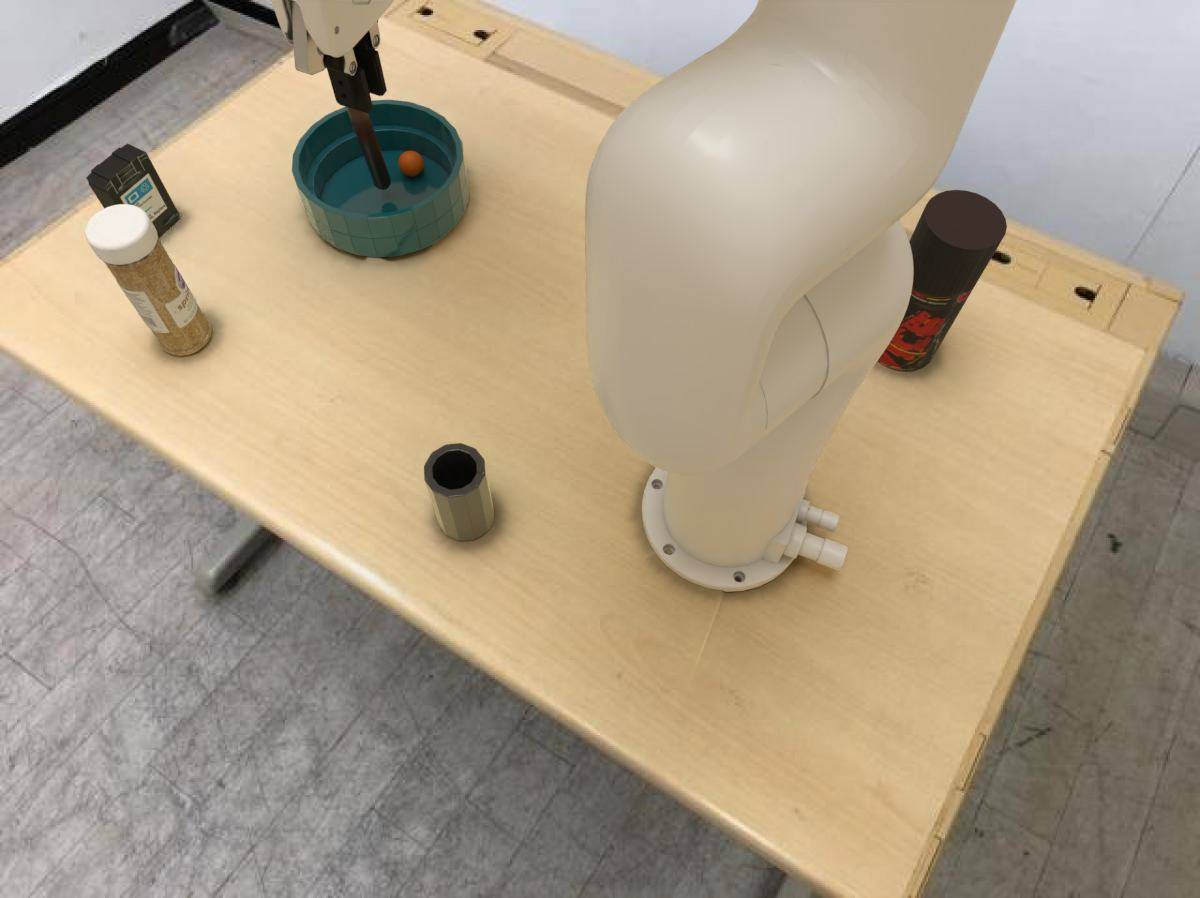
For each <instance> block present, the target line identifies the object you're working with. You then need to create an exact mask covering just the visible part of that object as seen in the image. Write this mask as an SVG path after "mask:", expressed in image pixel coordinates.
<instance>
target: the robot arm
mask: <svg viewBox="0 0 1200 898" xmlns="http://www.w3.org/2000/svg"><path fill="white" fill-rule="evenodd" d="M394 1H395V0H271V3H272V7H273V9H274V10H273V11H274V13H275V16H276V19H277V22H278V24H279V27H280V29H281V32H282V34H283V36H284V38H285V40H286V41H287V43H289V44H290V45H293V56H294V57H293V59H294V68H295V70H296V71H297V72H300V73H304V74H306V75H310V76H314V75H316V74H319V73H321V72H324V71H325V70H327V75H328V78H329V81H330V85H331V88H332V91H333V94H334V98H335V101H336V103H337V104H338V105H340V106H343V107H345V106H346V107H349V108H352V109H355V110H358V111H362V112H365V113H369V112H370V111H371V110H372V108H373V106H372V101H373V100H372V97H371V94H372V95H375V96H379V97H381V96H382V97H383V96H384V95H385V94H386V93H387V91H388V90H387V84H386V80H385V76H384V70H383V66H382V63H381V62H382V61H381V58H380V53H379V50H376V49H378V48H379V47H380V45H381V33H380V28H379V19H380V18H381V17H382V16H383V15H384V14H385V12H386V11H387V10H389V8H390V7H391V5H392V4H393V3H394ZM1016 3H1017V0H758V1H757V4H756V6H755V8H754V10H753V11H752V13H751V14H750V15H749V17H748V18H747V19H746V20H745V21H744V22H743V23H742V24H741V25H740V26H739V27H738V29H737V30H735V31H734V32H733V33H732V34H731V35H729V37H728V38H726V39H725V40H724V41H722V42H721V43H720V44H718V45H717V46H715V47H713V48H712V49H710V50H709V51H707V52H705V53H704V54H702V55H700V56H699V57H697V58H695V59H693V60H692V61H690V62H688V63H687V64H686V65H684V66H682V67H680V68H679V69H677V70H676V71H674V72H672V73H671V74H669V75H667V76H666V77H664V78H663V79H661V80H660V81H658V82H656V83H655V84H654V85H652V86H650V87H649V88H648V89H647V90H645V91H644V92H642V94H640V95H638V96H637V97H636V98H635V99H634V100H633V101H631V102H630V103H629V104H628V105H626V107H625V108H624V109H623V110H622V111H621V112H620V113H619V115H617V116H616V118H615V119H614V120H613V122H612V123H611V125H610V126H609V127H608V129H607V131H606V132H605V134H604V135H603V137H602V139H601V141H600V143H599V145H598V147H597V150H596V151H595V153H594V157H593V159H592V162H591V166H590V168H589V172H588V175H587V176H588V177H587V181H586V187H585V189H586V190H585V207H584V248H585V251H584V252H585V256H584V258H585V259H584V260H585V261H584V262H585V266H584V267H585V333H586V334H585V335H586V351H587V352H586V353H587V361H588V366H589V371H590V376H591V381H592V385H593V389H594V391H595V395H596V398H597V400H598V403H599V405H600V408H601V409H602V412H603V414H604V415H605V418H606V420H607V422H608V423H609V425H610V426H611V428H612V429H613V431H614V433H615V434H616V435H617V437H618V438H619V439H620V440H621V442H622V443H624V445H625V446H626V447H627V448H628V449H629V450H630V451H631V452H632V453H633V454H634V455H635V456H637V457H638V458H639V459H641V460H642V461H643V462H645V463H646V464H649V465H650V466H652V467H654V470H653V471H652V472H651V474H650V476H649V477H648V479H647V482H646V485H645V487H644V490H643V495H642V501H641V520H642V526H643V530H644V532H645V535H646V538H647V541H648V543H649V544H650V546H651V548H652V550H653V551H654V553H655V554H656V556H657V557H658V558H659V559H660V560H661V561H662V563H664V564H665V566H666V567H667V568H669V569H670V570H671V571H672V572H673V573H675V574H676V575H678V576H680V578H682V579H684V580H686V581H689V582H691V583H693V584H695V585H698V586H701V587H704V588H707V589H712V590H718V591H719V590H720V591H722V592H727V593H729V592H744V591H747V590H752V589H755V588H760V587H761V586H763V585H766V584H767V583H769V582H772V581H774V580H775V579H776V578H778V577H779V576H780V575H782V573H784V572H785V571H786V569H787V568H788V567H789V566H790V565H791V564H792V563H793V562H794V560H796V559H797V558H798V556H801V557H804V558H806V559H809V560H811V561H814V562H815V563H817V564H819V565H822V566H825V567H827V568H830V569H833V570H836V571H838V572H840V571H841V569H842V568H843V565H844V563H845V561H846V559H847V555H848V552H849V546H848V545H845V544H843V543H840V542H838V541H835V540H833V539H830V538H827V537H824V538H823V537H820V536H818V535H815V534H813V533H810V532H808V531H807V530H808V525H807V524H808V523H809V524H811V525H814V526H816V527H817V528H820V529H822V530H825V531H827V532H831V533H834V532H835V531H836V529H837V526H838V524H839V521H840V518H841V515H840V514H837V513H835V512H832V511H830V510H827V509H822V508H821V509H820V508H819V507H815V506H813V505H811V501H810V500H807V499H804V497H805V494H806V491H807V488H808V485H809V481H810V480H811V478H812V476H813V473H814V472H815V469H816V467H817V464H818V463H819V461H820V459H821V457H822V454H823V453H824V450H825V448H826V447H827V446H828V444H829V442H830V440H831V438H832V437H833V434H834V432H835V430H836V428H837V426H838V424H839V422H840V421H841V418H842V417H843V415H844V413H845V411H846V409H847V407H848V405H849V404H850V403H851V401H852V400H853V398H854V396H855V394H857V391H858V390H859V388H860V386H861V385H862V384H863V382H864V381H865V379H866V378H867V376H868V375H869V374H870V372H871V371H872V370H873V369H874V367H875V366H876V364H877V362H879V361H878V359H879V358H880V356H881V355H882V354H883V352H884V351H885V349H886V348H887V346H888V345H889V343H890V341H891V340H892V338H893V337H894V335H895V333H896V331H897V330H898V328H899V326H900V324H901V322H902V320H903V317H904V315H905V312H906V310H907V307H908V304H909V300H910V296H911V292H912V286H913V271H914V267H913V256H912V251H911V246H910V242H909V241H910V239H909V237H908V234H907V232H906V229H905V228H904V225H903V224H902V222H901V220H900V219H902V218H903V217H905V215H906V214H907V213H909V212H910V211H911V210H912V209H913V208H914V207H915V206H916V205H917V204H918V203H919V202H920V201H921V200H922V199H924V197H925V196H926V195H927V194H928V192H930V190H931V189H932V188H933V187H934V185H935V184H936V182H937V181H938V180H939V178H940V176H941V174H942V173H943V171H944V170H945V167H946V166H947V163H948V162H949V159H950V158H951V155H952V154H953V151H954V149H955V146H956V144H957V143H958V140H959V137H960V135H961V132H962V129H963V127H964V124H965V122H966V119H967V117H968V114H969V112H970V110H971V107H972V105H973V103H974V100H975V98H976V95H977V93H978V91H979V89H980V86H981V84H982V82H983V79H984V77H985V74H986V73H987V70H988V68H989V66H990V63H991V61H992V59H993V56H994V54H995V51H996V49H997V47H998V44H999V42H1000V40H1001V38H1002V36H1003V33H1004V31H1005V28H1006V26H1007V24H1008V21H1009V18H1010V17H1011V14H1012V13H1013V9H1014V7H1015V5H1016ZM655 486H658V487H659V488H655ZM667 550H669V551H671V554H667V553H666V551H667ZM736 579H739V581H737V580H736Z"/></svg>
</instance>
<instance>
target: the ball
mask: <svg viewBox="0 0 1200 898" xmlns="http://www.w3.org/2000/svg"><path fill="white" fill-rule="evenodd" d="M398 164H399V168H400V170H401V172H402V173H403V174H405V175H406V176H409V177H415V176H418V175H419V174H420V173H421V172H422V171H423V168H424V161H423V158H422V156H421V155H420V154H419V153H417V152H415V151H406V152H404V153H403V154H402V155H401V156H400V158H399V162H398Z"/></svg>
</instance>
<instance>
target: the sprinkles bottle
mask: <svg viewBox="0 0 1200 898" xmlns="http://www.w3.org/2000/svg"><path fill="white" fill-rule="evenodd" d="M84 237H85V241H86V242H87V243H88V246H89V247H90V248H91V250H92V251H93V253H94V254H95V256H96V257H97V258H98V259H99V260H100V261H102V262H103V263H104V264H105V265H106V267H107V268H108V270H109V271H110V273H111V274H112V276H113V277H114V279H115V281H116V283H117V285H118V286H119V287H120V289H121V290H122V292H123V293H124V295H125V296H126V298H127V299H128V301H129V302H130V304H131V305H132V307H133V308H134V310H135V311H136V313H137V314H138V316H139V317H140V318H141V320H142V321H143V322H144V324H145V326H147V327H148V329H149V330H150V331H151V332H152V334H153V335H154V336H155V338H156V339H157V343H158V344H159V347H160V348H161V349H162V350H163V351H164V352H166V353H168V354H169V355H172V356H178V357H182V356H189V355H193V354H195V353H196V352H198V351H200V350H201V349H203V348H204V347H206V345H207V343H209V341H210V339H211V338H212V337H211V336H212V334H213V326H212V323H211V322H210V320H209V319H208V318H207V317H206V316H205V314H204V313H203V311H202V310H201V309H202V308H201V307H200V306H199V304H198V303H197V299H196V298H195V296H194V294H193V292H192V291H191V289H190V287H189V286H188V284H187V283H186V281H185V279H184V278H183V275H182V274H181V273H180V271H179V269H178V268H177V267H178V266H176V264H175V263H174V262H173V261H172V258H171V257H170V256H169V253H168V252H167V250H166V249H165V247H164V245H163V244H162V242H161V240H160V238H158V234H157V230H156V228H155V227H154V225H153V223H152V221H151V220H150V218H149V217H148V215H147V214H146V213H145V211H143V210H142V209H141V208H139V207H137V206H134V205H129V204H118V205H113V206H109V207H107V208H104V207H103V208H102V209H100V210H98V211H97V212H96V213H94V214H93V215H92V216H91V217H90V218H89V220H88V222H87V223H86V225H85V227H84Z"/></svg>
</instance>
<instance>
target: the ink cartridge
mask: <svg viewBox="0 0 1200 898" xmlns="http://www.w3.org/2000/svg"><path fill="white" fill-rule="evenodd" d="M85 179H86V180H87V182H88V185H89V187H90V189H91V191H92V192H93V193H94V195H95V197H96V198H97V199H98V201H99V202H100V204H101V206H102V208H103V209H104V208H107V207H109V206H113V205H118V204H129V205H134V206H137V207H139V208H141V209H142V210H143V211H145V213H146V214H147V215H148V217H149V218H150V220H151V221H152V223H153V225H154V227H155V228H156V230H157V234H158V239H160V237H161V236H162V235H163V234H164V233H166V232H167V231H168V230H169V229H170V228H172V226H174V225H175V224H176V223H177V222H178V220H179V219H180V214H181V213H180V211H179V210H178V209H177V206H176V205H175V203H174V201H173V200H172V198H171V195H170V194H169V192H168V190H167V188H166V186H165V184H164V182H163V181H162V179H161V177H160V175H159V173H158V171H157V169H156V168H155V166H154V164H153V162H152V160H151V158H150V157H149V154H148V153H147V151H145V150H143V149H140V148H138V147H136V146H134V145H132V144H130V143H126V144H124V145H123V146H122V147H120V146H119V147H118V148H117V149H115V150H113V151H112V152H111V154H110V155H109V156H107V157H106V158H105V159H104V160H102V162H100V163H99V164H97V165H95V166H94V167H93V168H92V169H91V170H90V172H89V174H88V175H87V176H86V177H85Z"/></svg>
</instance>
